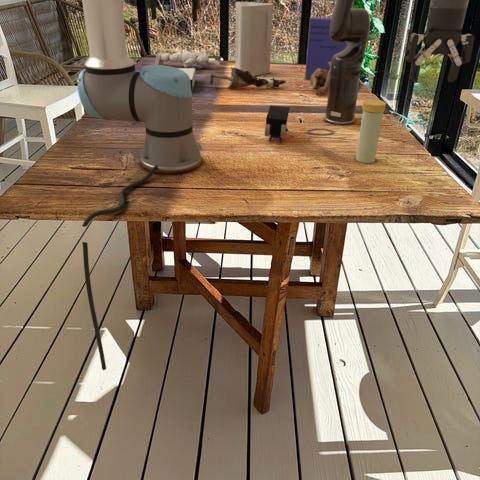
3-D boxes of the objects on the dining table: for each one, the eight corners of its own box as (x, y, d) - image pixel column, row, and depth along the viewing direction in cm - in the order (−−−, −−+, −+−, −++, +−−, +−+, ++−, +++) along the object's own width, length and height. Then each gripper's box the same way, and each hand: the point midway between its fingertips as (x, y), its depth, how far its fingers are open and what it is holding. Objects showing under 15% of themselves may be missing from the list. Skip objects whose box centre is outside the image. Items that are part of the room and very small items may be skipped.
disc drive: (146, 92, 183) (145, 79, 180) (154, 79, 202) (153, 67, 200) (192, 93, 183) (192, 80, 181) (196, 79, 203) (195, 67, 200)
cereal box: (344, 77, 210) (352, 18, 198) (346, 80, 206) (353, 19, 194) (305, 76, 211) (309, 17, 199) (305, 79, 207) (310, 18, 195)
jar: (354, 161, 126) (362, 105, 118) (357, 155, 130) (366, 100, 122) (373, 164, 124) (382, 107, 117) (376, 157, 128) (385, 102, 121)
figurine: (210, 87, 179) (288, 95, 182) (212, 65, 176) (291, 73, 180) (208, 84, 201) (278, 91, 205) (210, 64, 198) (280, 71, 202)
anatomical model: (320, 97, 196) (320, 98, 182) (304, 82, 195) (303, 82, 181) (342, 73, 192) (344, 72, 177) (327, 57, 191) (327, 56, 177)
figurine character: (286, 149, 136) (289, 127, 148) (287, 124, 131) (290, 104, 143) (262, 148, 137) (267, 126, 149) (263, 123, 132) (268, 103, 144)
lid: (360, 111, 119) (361, 103, 118) (364, 105, 123) (365, 98, 122) (383, 113, 117) (384, 106, 116) (386, 108, 121) (387, 101, 121)
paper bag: (273, 76, 210) (276, 6, 196) (239, 77, 209) (240, 6, 194) (266, 67, 226) (268, 2, 212) (235, 67, 225) (235, 1, 210)
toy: (175, 75, 210) (174, 58, 206) (151, 64, 228) (150, 49, 224) (222, 69, 222) (222, 53, 218) (195, 59, 239) (195, 45, 236)
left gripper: (214, -58, 143) (215, 20, 153) (135, -59, 146) (141, 17, 157) (207, -58, 136) (209, 23, 147) (125, -59, 140) (133, 20, 151)
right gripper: (473, 4, 107) (455, 78, 116) (410, 3, 107) (397, 77, 115) (489, 7, 101) (468, 85, 109) (422, 6, 101) (407, 85, 109)
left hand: (174, 20), depth 152 cm, fingers open, 13 cm apart
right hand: (432, 81), depth 112 cm, fingers open, 8 cm apart
